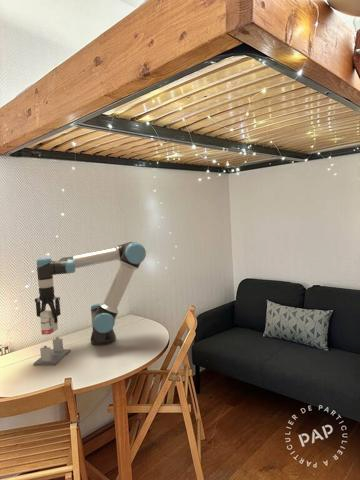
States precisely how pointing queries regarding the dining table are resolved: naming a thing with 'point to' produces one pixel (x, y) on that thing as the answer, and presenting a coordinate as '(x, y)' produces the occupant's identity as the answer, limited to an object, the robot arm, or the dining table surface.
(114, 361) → the dining table surface
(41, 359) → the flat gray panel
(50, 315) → the ink box
